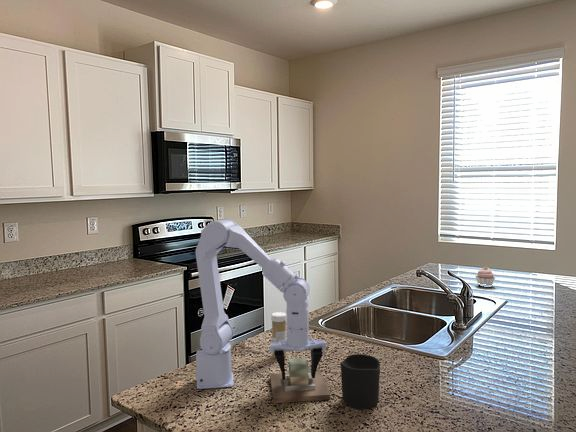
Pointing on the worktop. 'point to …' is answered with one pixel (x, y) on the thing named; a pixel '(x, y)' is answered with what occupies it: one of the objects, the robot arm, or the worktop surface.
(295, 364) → the block stack
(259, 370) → the worktop surface
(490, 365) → the worktop surface
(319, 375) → the walnut board
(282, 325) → the sprinkles bottle
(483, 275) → the cupcake
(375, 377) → the pen holder
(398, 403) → the worktop surface
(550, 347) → the worktop surface
